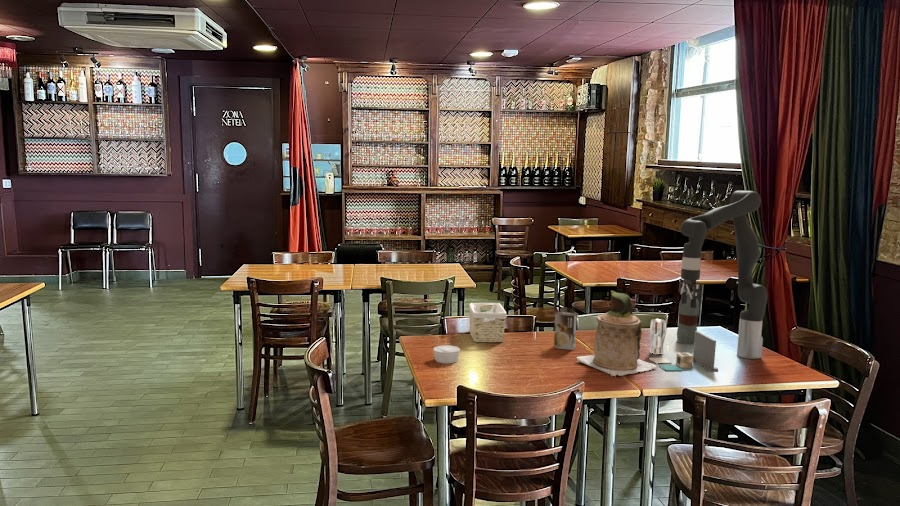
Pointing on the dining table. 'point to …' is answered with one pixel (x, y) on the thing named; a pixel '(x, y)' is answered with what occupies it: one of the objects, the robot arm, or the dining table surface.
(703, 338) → the screen
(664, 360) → the pad
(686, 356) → the beige cube
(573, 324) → the coffee box
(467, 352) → the dining table surface
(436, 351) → the ramekin
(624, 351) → the cookie jar
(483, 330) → the storage basket
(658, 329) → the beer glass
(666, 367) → the pad
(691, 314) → the bottle
